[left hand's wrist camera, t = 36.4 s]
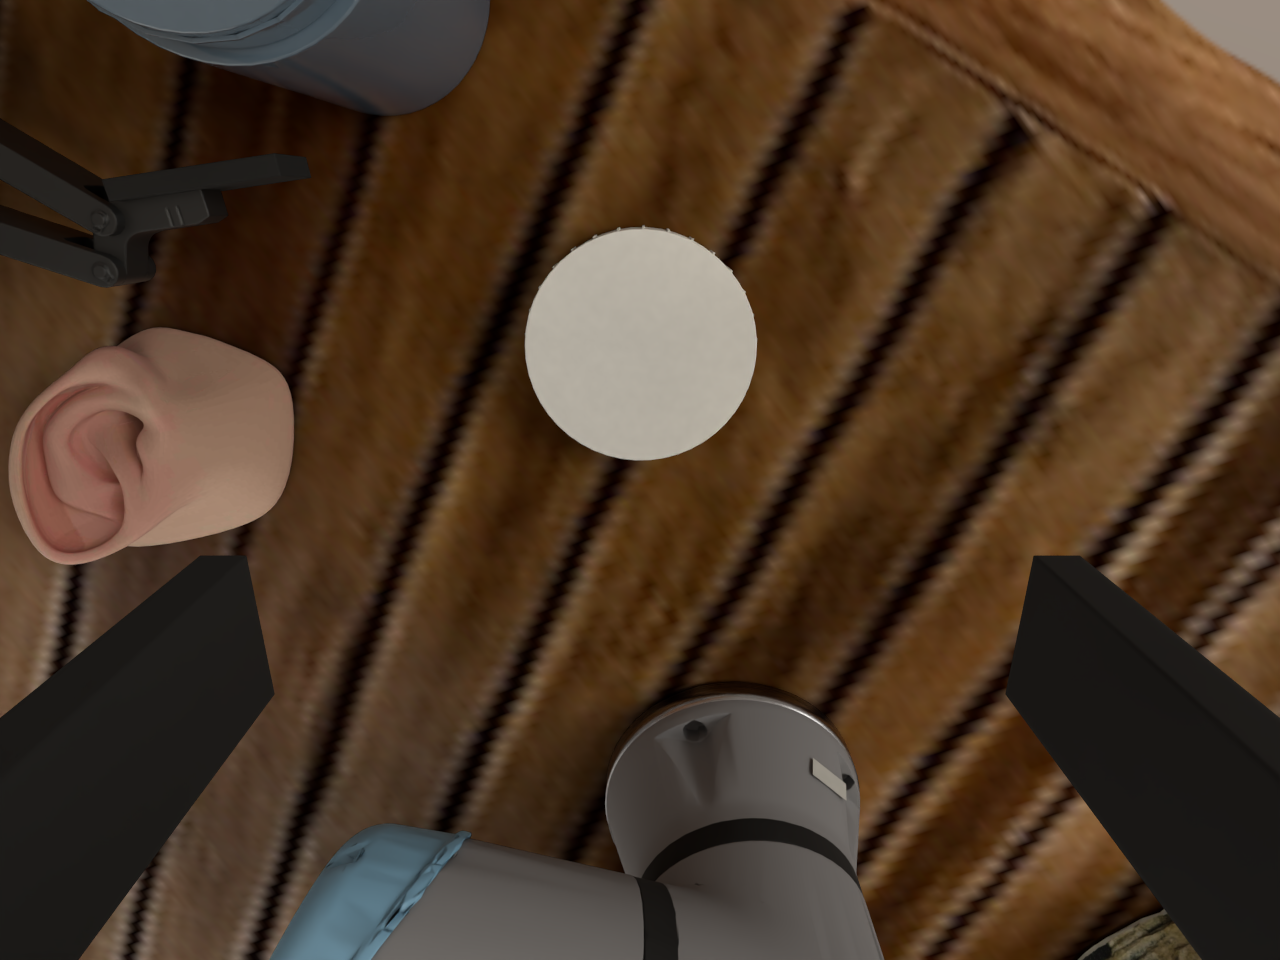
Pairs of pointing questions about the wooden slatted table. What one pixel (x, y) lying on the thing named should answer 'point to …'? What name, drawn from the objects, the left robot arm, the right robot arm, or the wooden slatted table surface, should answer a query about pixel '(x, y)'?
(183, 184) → the right robot arm
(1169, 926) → the fossil
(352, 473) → the wooden slatted table surface
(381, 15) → the jar
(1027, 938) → the wooden slatted table surface
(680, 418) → the lid
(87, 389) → the anatomical model
